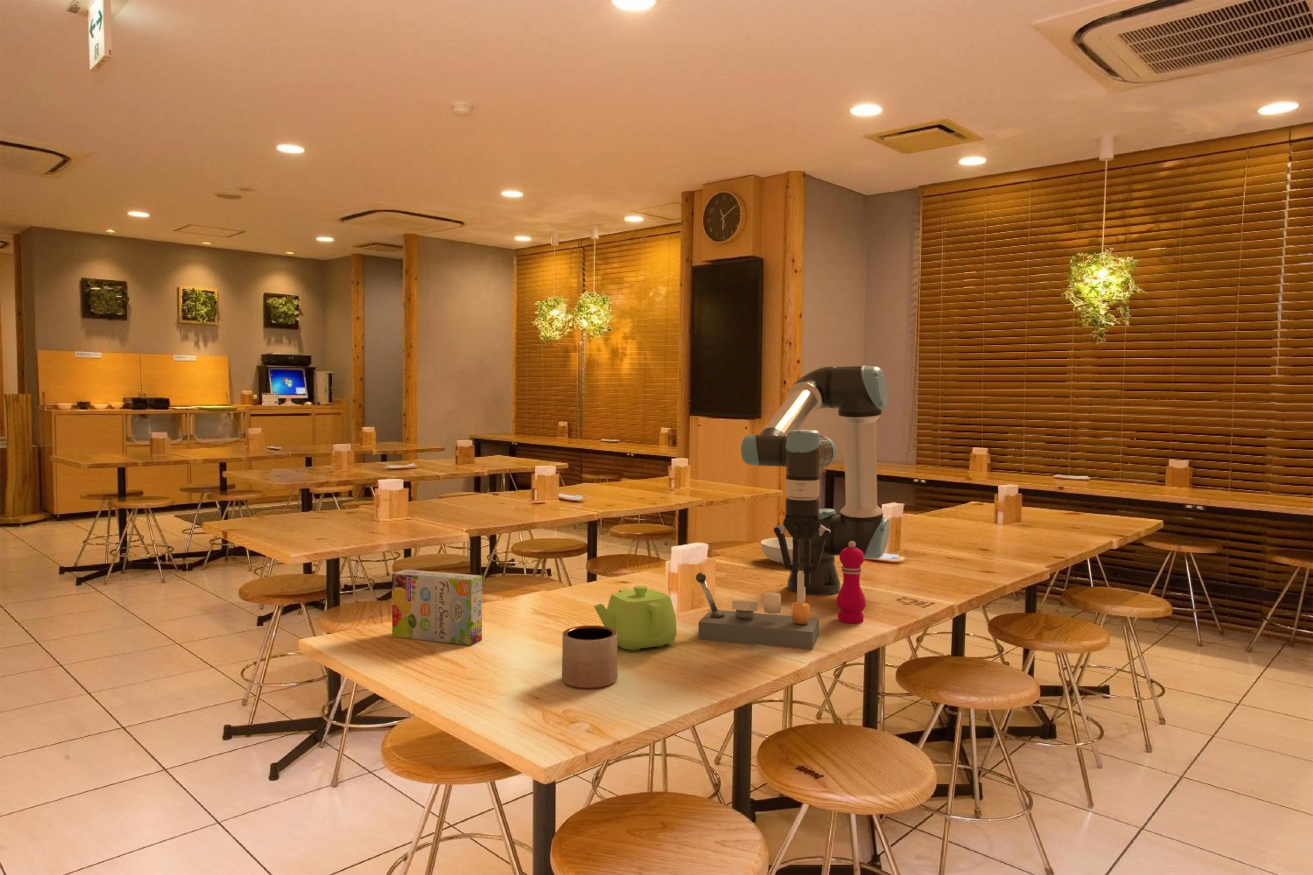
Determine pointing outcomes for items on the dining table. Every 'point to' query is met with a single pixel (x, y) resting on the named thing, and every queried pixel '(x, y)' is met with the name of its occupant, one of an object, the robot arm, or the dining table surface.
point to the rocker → (744, 605)
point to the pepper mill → (851, 586)
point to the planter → (589, 657)
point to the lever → (706, 591)
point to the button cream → (772, 602)
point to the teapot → (640, 618)
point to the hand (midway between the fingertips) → (801, 600)
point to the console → (758, 629)
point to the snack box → (437, 606)
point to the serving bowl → (776, 549)
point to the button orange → (800, 612)
